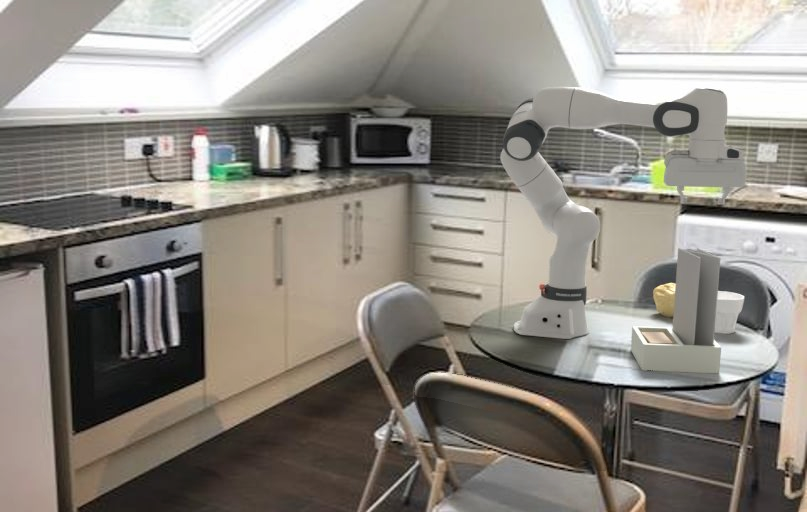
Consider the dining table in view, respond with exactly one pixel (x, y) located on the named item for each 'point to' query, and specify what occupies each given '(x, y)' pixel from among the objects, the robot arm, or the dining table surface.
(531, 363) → the dining table surface
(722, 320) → the cup
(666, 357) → the divided tray
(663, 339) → the offcut top
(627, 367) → the dining table surface
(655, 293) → the yellow rounded lump
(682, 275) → the brochure
